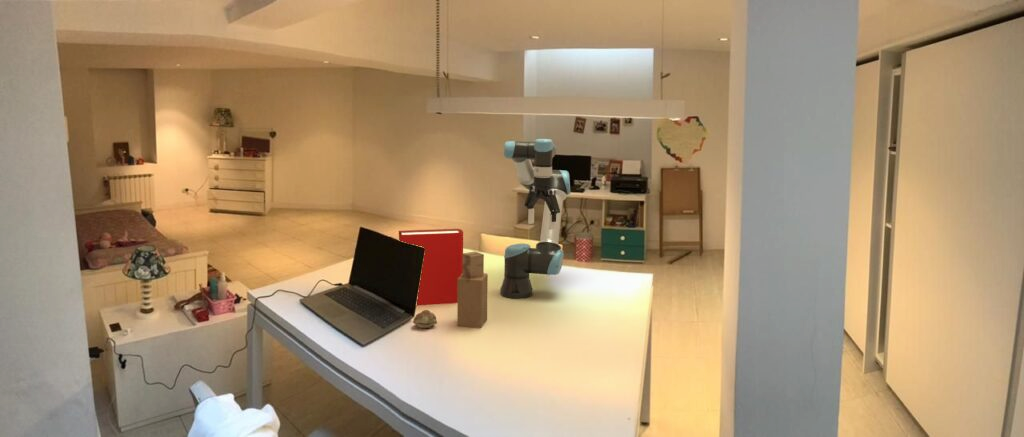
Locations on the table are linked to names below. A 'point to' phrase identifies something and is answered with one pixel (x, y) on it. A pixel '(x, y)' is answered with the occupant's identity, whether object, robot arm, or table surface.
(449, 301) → the book
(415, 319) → the seashell
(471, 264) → the walnut block
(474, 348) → the table surface
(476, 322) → the wooden block
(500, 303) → the table surface
